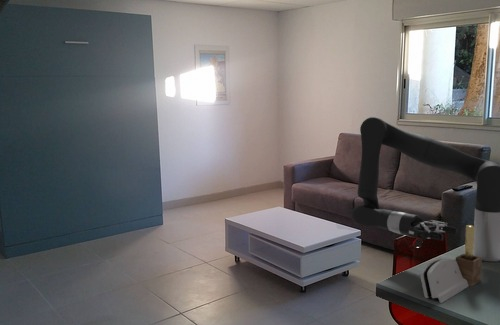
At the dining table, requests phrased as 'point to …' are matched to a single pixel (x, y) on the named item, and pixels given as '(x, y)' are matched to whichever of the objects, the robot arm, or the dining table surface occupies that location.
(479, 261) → the pin block
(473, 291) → the dining table surface
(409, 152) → the robot arm
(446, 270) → the hinge
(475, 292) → the dining table surface
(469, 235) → the pin
